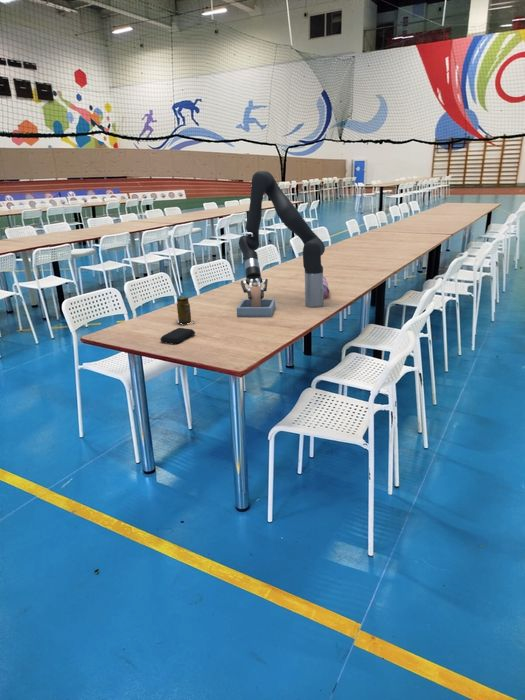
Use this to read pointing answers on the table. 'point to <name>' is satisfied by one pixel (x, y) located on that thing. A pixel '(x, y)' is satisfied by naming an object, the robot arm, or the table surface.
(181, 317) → the condiment
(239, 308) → the bin
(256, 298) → the cruet
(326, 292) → the pencil case
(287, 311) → the table surface
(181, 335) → the carrying case or bag
